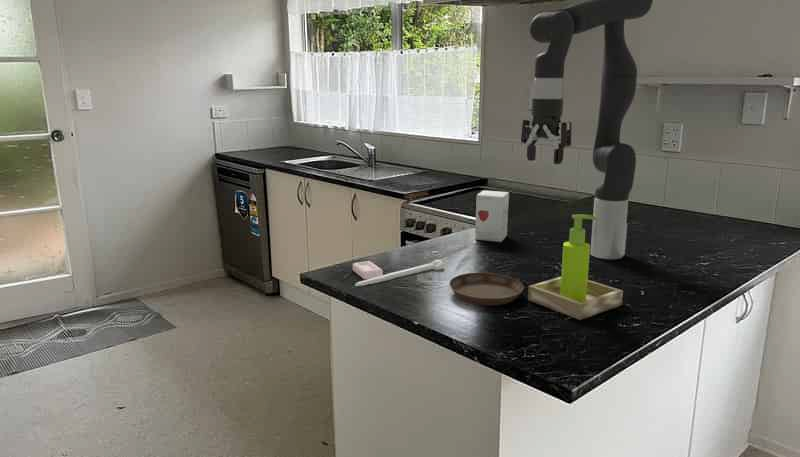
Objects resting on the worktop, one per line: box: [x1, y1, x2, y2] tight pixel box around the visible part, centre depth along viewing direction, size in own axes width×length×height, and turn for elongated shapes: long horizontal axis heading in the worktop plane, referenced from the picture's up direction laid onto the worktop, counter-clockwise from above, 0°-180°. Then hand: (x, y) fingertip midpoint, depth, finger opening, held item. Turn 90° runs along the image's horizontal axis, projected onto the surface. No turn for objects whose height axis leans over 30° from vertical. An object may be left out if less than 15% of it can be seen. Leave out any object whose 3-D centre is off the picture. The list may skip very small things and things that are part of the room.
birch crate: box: [527, 276, 624, 321], centre depth 139 cm, size 15×15×4 cm
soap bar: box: [352, 260, 384, 280], centre depth 161 cm, size 5×9×2 cm, turn 25°
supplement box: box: [474, 189, 510, 243], centre depth 195 cm, size 9×9×15 cm
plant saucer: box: [448, 272, 524, 307], centre depth 144 cm, size 18×18×3 cm
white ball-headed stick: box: [354, 259, 445, 287], centre depth 157 cm, size 28×4×3 cm, turn 126°
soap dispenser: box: [560, 213, 597, 302], centre depth 137 cm, size 6×7×20 cm
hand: (544, 162), depth 152 cm, fingers open, 8 cm apart
